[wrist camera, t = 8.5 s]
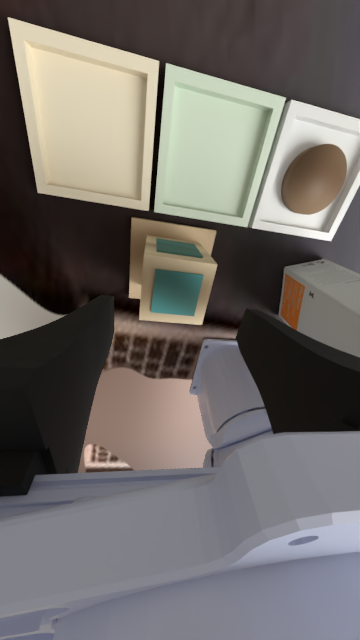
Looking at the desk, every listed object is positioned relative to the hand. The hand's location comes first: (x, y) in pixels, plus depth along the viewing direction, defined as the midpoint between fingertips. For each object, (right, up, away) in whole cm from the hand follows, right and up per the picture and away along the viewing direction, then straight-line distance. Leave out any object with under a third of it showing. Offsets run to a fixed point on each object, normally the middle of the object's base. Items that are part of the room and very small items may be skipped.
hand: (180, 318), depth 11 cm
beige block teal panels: (-1, +5, +7) cm, 9 cm away
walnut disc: (+10, +11, +5) cm, 16 cm away
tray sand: (-6, +12, +3) cm, 14 cm away
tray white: (+10, +11, +5) cm, 16 cm away
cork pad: (-1, +5, +8) cm, 9 cm away
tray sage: (+2, +12, +4) cm, 13 cm away
